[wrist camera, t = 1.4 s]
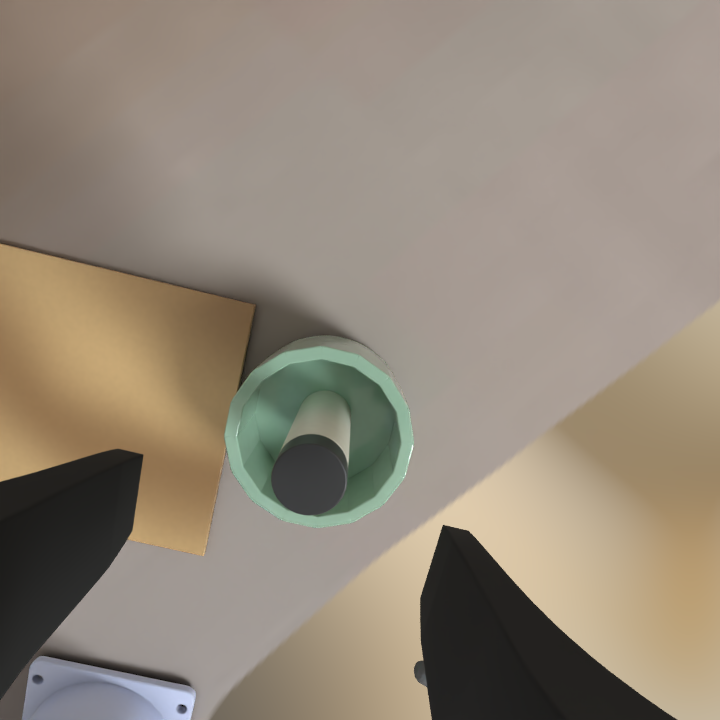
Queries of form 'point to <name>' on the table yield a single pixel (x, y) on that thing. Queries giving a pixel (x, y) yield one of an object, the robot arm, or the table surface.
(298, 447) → the marker
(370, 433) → the pen pot
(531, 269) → the table surface
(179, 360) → the cork mat
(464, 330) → the table surface
